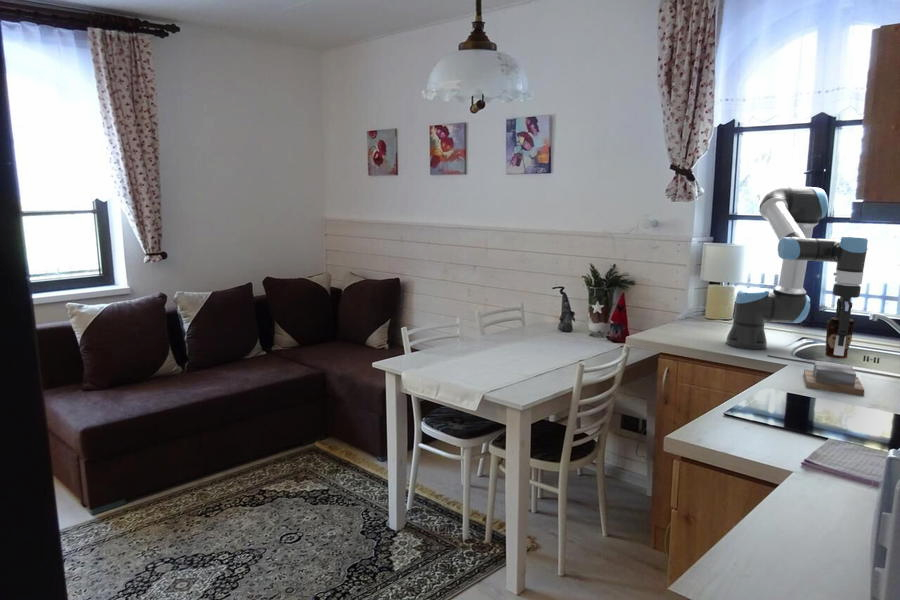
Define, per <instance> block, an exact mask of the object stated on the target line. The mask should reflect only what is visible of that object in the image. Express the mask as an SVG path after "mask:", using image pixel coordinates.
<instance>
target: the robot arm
mask: <svg viewBox="0 0 900 600" xmlns="http://www.w3.org/2000/svg"><path fill="white" fill-rule="evenodd" d="M828 209H829V200H828V195H827V193H826V192H825V190H824V189H822V188H820V187H815V186H814V187H812V186H788V185H787V186H783V185H781V186H774V187H773V188H771V189H769V190H767V191H766V192H765V193H763V195H762V196H761V197H760V199H759V202H758V212H759V213H760V216H761V217H762V219H764V220H766V221H768V224H769V225H770V227H771V228H772V230H773V232H774V233H775V235H776V237H777V239H778V244H777V252H778V253H777V255H778V257H779V258H780V259H782V263H781V269H780V274H779V280H778V284H777V285H776V286H774V287H773V290H772V291H773V292H770V291H769V289H767V288H759V287H752V288H751V287H750V288H743V289H740V290H738V291H737V293H736V298H735V301H734V302H735V304H734V314H733V321H732V325H731V328H730V330H729V332H728V334H727V336H726V340H725V343H726V344H727V345H729V346H732V347H735V348H740V349H746V350H765V349H766V348H767V345H768V342H767V335H766V331H765V324H766V322H774V323H785V324H799V323H802V322H803V321H804V320H806V319H807V317H808V315H809V312H810V309H811V298H810V297H809V296H808V294H807V290H805V288H804V282H805V276H806V271H807V270H806V269H807V264H808V261H809V262H811V261H813V262H826V263H827V262H829V263H830V262H831V263H836V268H835V271H836V272H833V276H835V277H834V282H835V283H833V288H832V295H834V296H835V297H839V298H838V299H837V301H836V308H835V309H836V310H835V316H834V317H839V327H838V333H835V335H836V342H835V348H834V355H839V356H844V349H845V343H846V336H847V335H848V328H849V321H850V319H851V314H852V313H851V311H852V308H853V303H852V301H851V299H852V298H853V299H856V298H859V297H860V295H861V288H862V287H861V285H862V283H863V277H864V270H865V269H864V268H865V264H866V263H865V261H866V256H867V252H868V242H869V241H868V240H869V239H868V238H867V237H865V236H858V235H842V236H841V238H830V239H829V238H828V239H827V238H812V237H813V231H814V228H815V227H816V226H817V225H819V222H820V220H822V219H825V217H826V216H827V214H828ZM843 331H845V332H843Z"/></svg>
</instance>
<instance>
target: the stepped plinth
mask: <svg viewBox="0 0 900 600" xmlns="http://www.w3.org/2000/svg"><path fill="white" fill-rule="evenodd" d="M854 369H855V368H854V367H853V366H852V365H845V364H838V363H831V362H823V361H816V360H815V361H814V364H813V369H812V370H811V369H804V370H803V378H805V379H804V382H805V387H809V388H808V389H813V388H815V389H814V390H820V389H822V390H821V391H826V390H829V391H828V392H833V391H834V393H840V394H841V393H842V394H848V395H853V396H854V395H855V396H861V397H862V396H863V397H864V396H865V388H864V386H863V385H862V382H861V381H860V379H859V377H858V376H857V373H856V372H855V370H854Z"/></svg>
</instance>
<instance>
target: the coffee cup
mask: <svg viewBox="0 0 900 600" xmlns="http://www.w3.org/2000/svg"><path fill="white" fill-rule="evenodd" d="M856 326H857V324H856V323H855V320H854V319H853V318H850V321H849V328H848V335H847V336H846V343H845V349H844V356H839V355H834V348H835V342H836V335H835V333H838V327H839V317H835V316H834V317H830V318H829V319H828V320H827V321H826V336H825V337H826V338H825V355H824V356H826V357H828V358H831V359H838V360H839V359H841V360H844V359H845V360H846V359H848V352H849V349H850V345H851V343H852V339H853V334H854V333H853V332H854V329H855V328H856ZM843 332H845V331H843Z"/></svg>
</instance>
